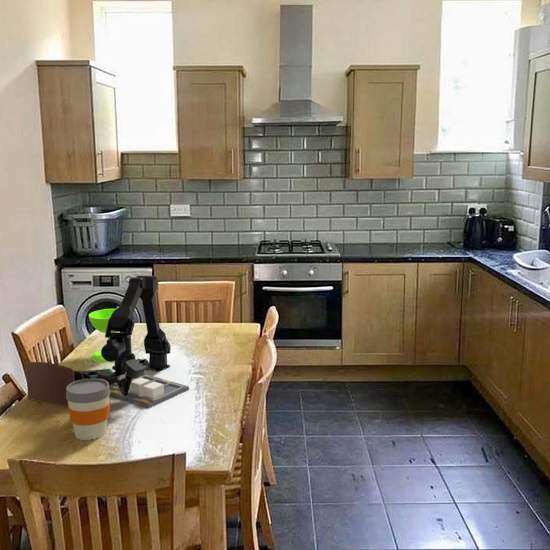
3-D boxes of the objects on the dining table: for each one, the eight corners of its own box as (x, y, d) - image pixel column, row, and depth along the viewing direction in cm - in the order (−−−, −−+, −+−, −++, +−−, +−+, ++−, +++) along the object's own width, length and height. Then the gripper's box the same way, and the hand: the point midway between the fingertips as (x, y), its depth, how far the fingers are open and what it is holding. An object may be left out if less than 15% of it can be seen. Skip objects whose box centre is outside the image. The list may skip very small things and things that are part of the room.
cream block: (141, 388, 214) (140, 377, 213) (150, 391, 212) (150, 380, 211) (130, 392, 210) (129, 381, 209) (139, 395, 208) (139, 384, 207)
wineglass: (139, 355, 253) (137, 313, 249) (106, 365, 241) (103, 321, 237) (116, 347, 263) (114, 306, 260) (83, 356, 251) (80, 314, 248)
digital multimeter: (112, 381, 225) (112, 374, 224) (70, 385, 222) (69, 377, 222) (113, 375, 232) (113, 367, 232) (72, 377, 229) (71, 370, 229)
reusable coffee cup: (88, 446, 175) (85, 397, 172) (59, 436, 181) (56, 388, 178) (121, 430, 185) (118, 383, 182) (92, 420, 192) (89, 375, 189)
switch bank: (148, 378, 228) (148, 373, 227) (189, 389, 216) (188, 384, 216) (108, 394, 212) (108, 389, 212) (149, 407, 201) (149, 402, 201)
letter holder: (75, 408, 201) (72, 367, 198) (27, 399, 208) (24, 360, 206) (94, 397, 210) (91, 358, 208) (48, 389, 217) (45, 351, 215)
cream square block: (154, 392, 210) (154, 381, 210) (164, 395, 208) (163, 384, 207) (143, 397, 206) (143, 386, 206) (153, 400, 204) (152, 389, 203)
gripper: (117, 364, 190) (120, 411, 193) (160, 348, 205) (162, 392, 208) (93, 357, 196) (96, 403, 199) (137, 342, 211) (139, 385, 214)
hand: (125, 395), depth 205 cm, fingers closed
